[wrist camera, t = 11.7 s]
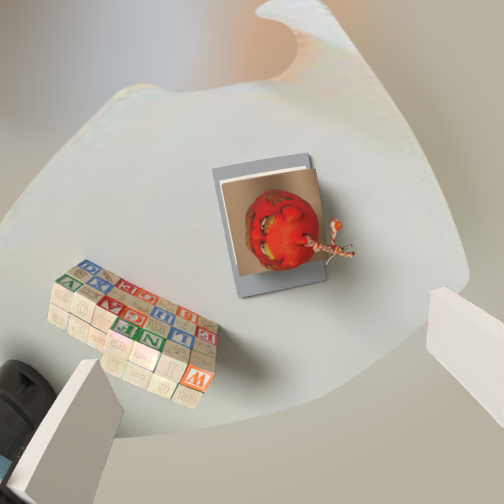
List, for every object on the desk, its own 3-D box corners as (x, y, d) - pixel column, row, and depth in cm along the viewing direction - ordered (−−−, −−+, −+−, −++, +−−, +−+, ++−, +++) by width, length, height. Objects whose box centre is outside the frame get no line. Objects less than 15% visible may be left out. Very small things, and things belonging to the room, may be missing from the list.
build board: (238, 295, 41) (238, 298, 41) (212, 169, 37) (212, 169, 36) (324, 278, 42) (326, 280, 41) (306, 152, 37) (308, 152, 36)
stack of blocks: (75, 294, 40) (34, 331, 28) (85, 258, 39) (40, 288, 27) (202, 355, 44) (194, 411, 32) (219, 323, 43) (216, 375, 31)
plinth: (238, 261, 39) (239, 276, 34) (223, 183, 37) (221, 185, 31) (314, 246, 39) (328, 258, 34) (303, 169, 37) (315, 168, 31)
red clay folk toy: (240, 190, 31) (246, 205, 17) (307, 185, 32) (365, 196, 17) (247, 261, 33) (257, 329, 19) (311, 255, 33) (364, 314, 19)
